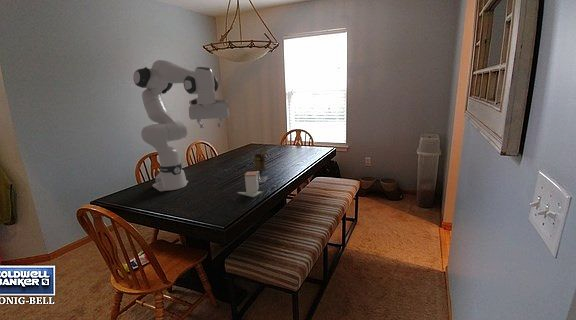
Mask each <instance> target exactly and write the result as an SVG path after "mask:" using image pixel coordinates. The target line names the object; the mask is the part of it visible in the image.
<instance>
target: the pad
mask: <svg viewBox="0 0 576 320" xmlns="http://www.w3.org/2000/svg"><path fill="white" fill-rule="evenodd" d="M265 192H267V190H258V192H247V193H246V190H245V191H242V190H241V191H236V193H237V194H239V195H242V196H247V197H251V198H255V197H257V196H259V195H261V194H263V193H265Z"/></svg>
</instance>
